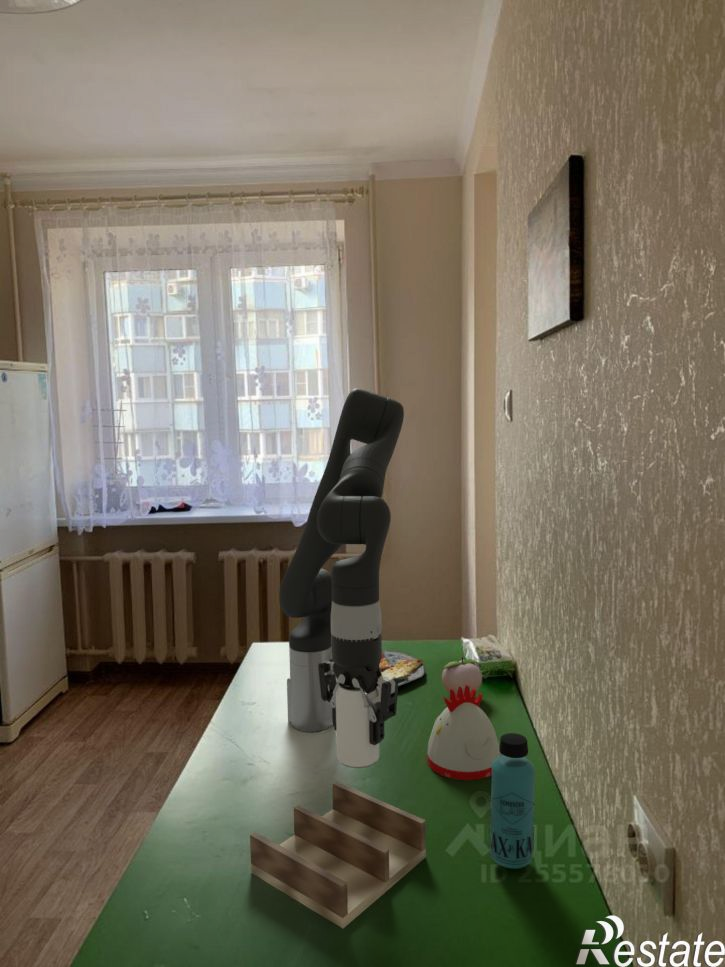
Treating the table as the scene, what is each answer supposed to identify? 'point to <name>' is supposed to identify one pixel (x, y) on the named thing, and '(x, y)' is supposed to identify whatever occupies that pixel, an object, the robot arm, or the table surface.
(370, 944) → the table surface
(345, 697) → the can
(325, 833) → the rack
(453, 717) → the kitchen timer
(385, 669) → the food plate
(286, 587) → the robot arm
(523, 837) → the beverage bottle
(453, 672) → the decorative fruit
